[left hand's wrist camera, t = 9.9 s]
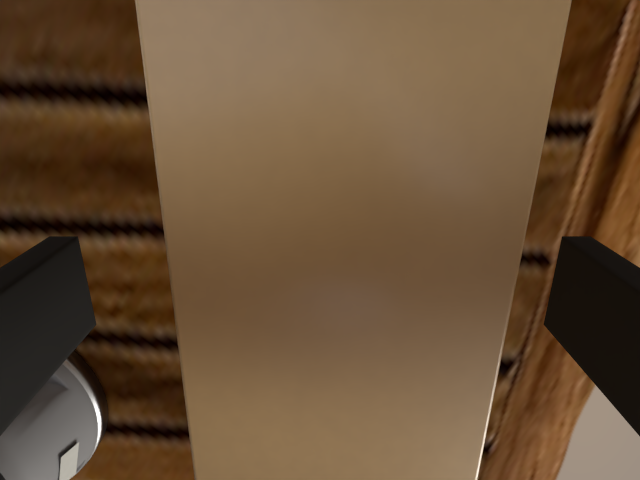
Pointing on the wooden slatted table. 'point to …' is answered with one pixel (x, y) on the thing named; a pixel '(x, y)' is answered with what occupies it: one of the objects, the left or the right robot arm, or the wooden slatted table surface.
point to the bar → (345, 222)
